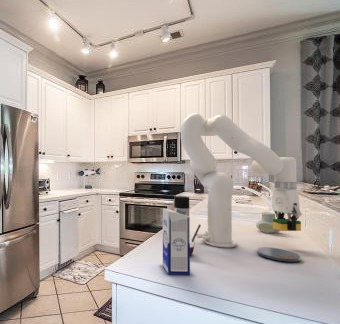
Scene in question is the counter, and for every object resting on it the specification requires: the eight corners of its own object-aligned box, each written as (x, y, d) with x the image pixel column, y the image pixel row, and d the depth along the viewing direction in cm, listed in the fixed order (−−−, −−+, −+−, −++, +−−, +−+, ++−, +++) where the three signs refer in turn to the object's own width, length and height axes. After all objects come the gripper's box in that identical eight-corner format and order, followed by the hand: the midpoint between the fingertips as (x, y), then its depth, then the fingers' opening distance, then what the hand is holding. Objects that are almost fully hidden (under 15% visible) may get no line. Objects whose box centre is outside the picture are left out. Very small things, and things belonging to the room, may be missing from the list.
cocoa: (171, 253, 97) (171, 222, 97) (177, 249, 102) (177, 220, 102) (196, 260, 91) (196, 226, 91) (202, 255, 95) (202, 224, 96)
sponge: (281, 230, 104) (281, 221, 104) (273, 228, 109) (272, 218, 109) (301, 230, 104) (300, 221, 104) (291, 228, 109) (291, 218, 109)
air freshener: (254, 231, 132) (254, 212, 132) (258, 228, 138) (258, 210, 138) (279, 235, 124) (279, 215, 124) (283, 232, 130) (283, 213, 130)
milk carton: (162, 265, 85) (162, 207, 85) (182, 266, 85) (182, 207, 85) (168, 274, 78) (168, 210, 78) (190, 275, 78) (190, 210, 78)
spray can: (178, 236, 121) (178, 195, 121) (191, 239, 116) (191, 196, 116) (171, 239, 116) (171, 196, 116) (185, 242, 111) (185, 198, 112)
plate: (272, 263, 88) (272, 258, 88) (249, 250, 101) (249, 247, 101) (310, 263, 88) (310, 259, 88) (282, 251, 101) (282, 247, 101)
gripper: (263, 184, 115) (264, 224, 115) (292, 187, 98) (293, 234, 98) (279, 184, 115) (280, 224, 115) (311, 187, 98) (312, 233, 98)
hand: (286, 228), depth 106 cm, fingers closed on sponge, 5 cm apart
